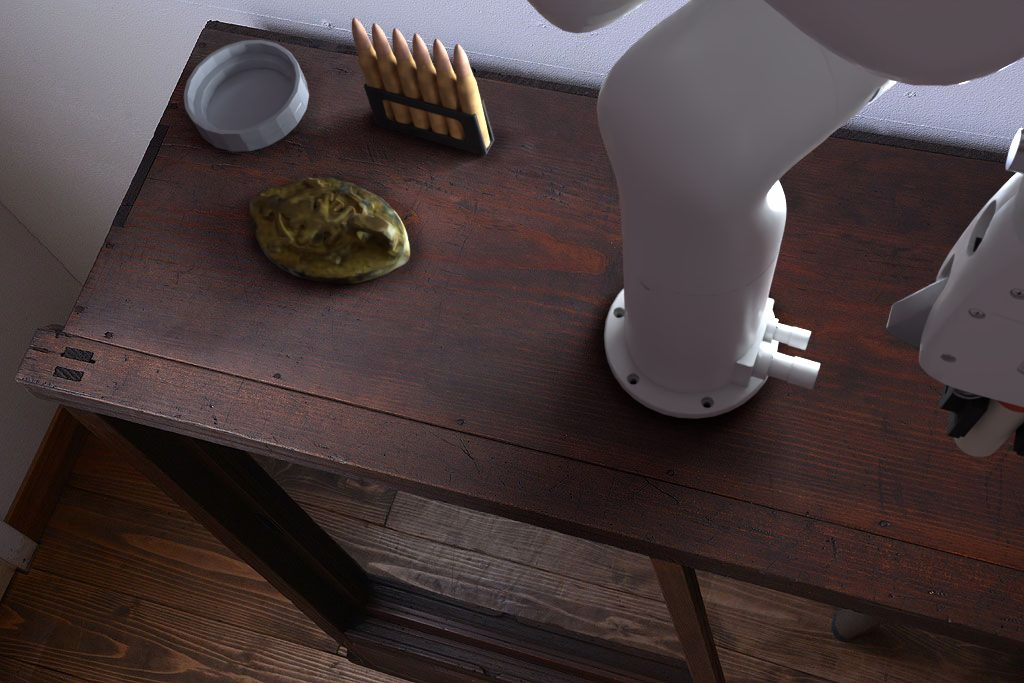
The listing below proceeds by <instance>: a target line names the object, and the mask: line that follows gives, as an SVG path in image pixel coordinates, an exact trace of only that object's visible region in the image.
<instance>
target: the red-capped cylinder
mask: <svg viewBox="0 0 1024 683" xmlns="http://www.w3.org/2000/svg"><path fill="white" fill-rule="evenodd" d="M1023 423H1024V407H1021V406H1017V405H1013V404H1010V403H1006V402H1002V401H999V400H995V399H991V398H990V402H989V406H988V409H987V411H986V412H985V414H984V415H983V416H982V417H981V418H980V419H979V421H978V422H977V423H976V424H975V425H974V426H973V427H972V429H971V430H970V431H969V432H968V433H967V434H966V436H965V437H960V438H959V439H957V438H954V437H952V438H953V441H954V443H955V444H956V447H958V449H959V450H961V451H962V452H963V453H965V455H966V454H967V455H969V456H971V457H975V458H984V457H985V458H986V457H988V456H992V455H993V454H994V453H995V452H997V450H999V448H1000V447H1001V446H1002V445H1003V444H1004V443H1005V442H1006V441H1007V440H1008V439H1009V438H1010V437H1011V436H1012V435H1013V434H1014V433H1016V430H1017V429H1018V428H1019V427H1020V426H1021V425H1022V424H1023Z"/></svg>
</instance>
